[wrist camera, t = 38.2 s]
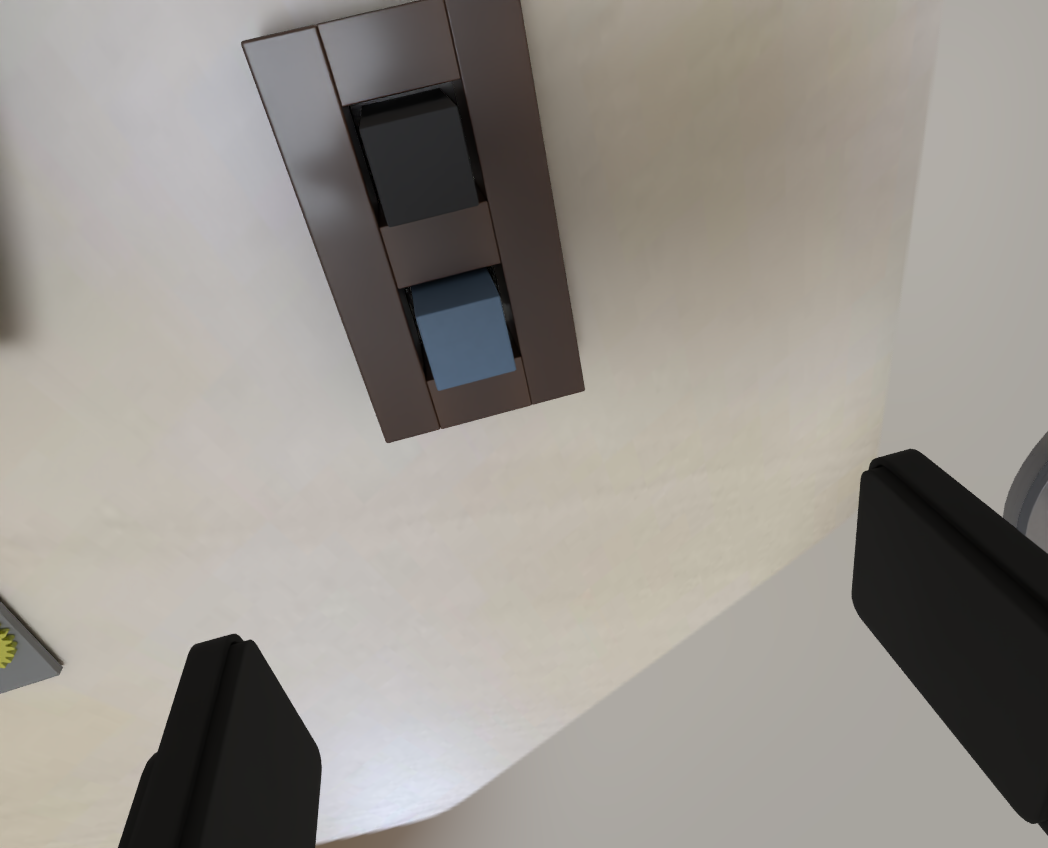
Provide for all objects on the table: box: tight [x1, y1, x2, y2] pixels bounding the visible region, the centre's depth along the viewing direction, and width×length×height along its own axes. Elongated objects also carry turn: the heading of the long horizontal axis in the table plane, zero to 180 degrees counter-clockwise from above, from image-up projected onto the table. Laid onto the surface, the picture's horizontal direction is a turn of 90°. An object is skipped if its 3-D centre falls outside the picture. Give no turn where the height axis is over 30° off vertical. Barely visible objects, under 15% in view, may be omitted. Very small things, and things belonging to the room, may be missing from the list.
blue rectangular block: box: [411, 267, 516, 391], centre depth 29 cm, size 3×3×6 cm
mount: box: [241, 0, 585, 443], centre depth 28 cm, size 9×16×4 cm, turn 11°
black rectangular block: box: [359, 88, 479, 227], centre depth 25 cm, size 3×3×6 cm
